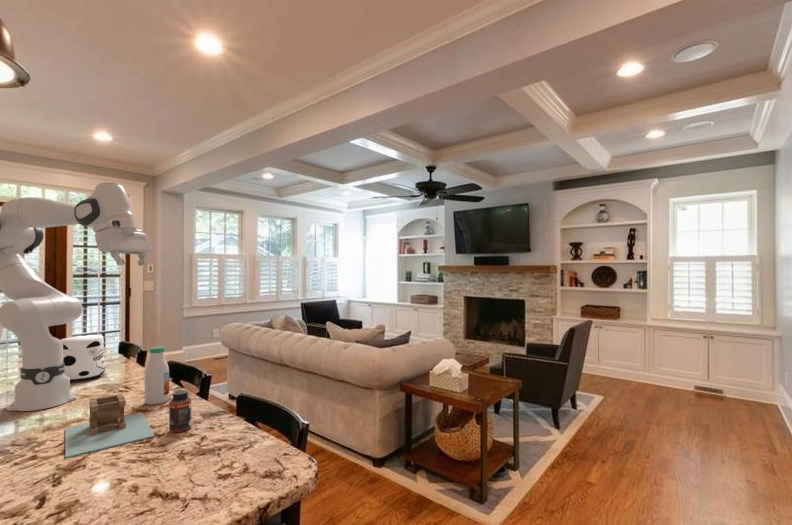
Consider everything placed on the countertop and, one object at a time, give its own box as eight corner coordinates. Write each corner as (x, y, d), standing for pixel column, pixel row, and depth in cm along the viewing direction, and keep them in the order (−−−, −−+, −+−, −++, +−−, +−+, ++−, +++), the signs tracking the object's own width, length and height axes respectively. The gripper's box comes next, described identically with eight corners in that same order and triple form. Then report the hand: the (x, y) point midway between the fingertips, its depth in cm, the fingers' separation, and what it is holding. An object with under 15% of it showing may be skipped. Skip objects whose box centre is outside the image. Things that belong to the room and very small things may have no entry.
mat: (65, 429, 121) (65, 428, 121) (142, 413, 134) (142, 412, 134) (65, 458, 103) (65, 456, 103) (154, 436, 116) (154, 435, 116)
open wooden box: (89, 426, 122) (89, 399, 122) (122, 419, 128) (122, 393, 128) (91, 435, 116) (91, 406, 116) (125, 427, 121) (125, 400, 121)
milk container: (113, 376, 180) (113, 336, 180) (65, 386, 165) (65, 343, 165) (96, 371, 189) (96, 333, 189) (50, 380, 174) (50, 339, 175)
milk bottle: (157, 406, 141) (157, 350, 141) (139, 404, 143) (139, 349, 143) (174, 399, 149) (174, 345, 149) (156, 397, 150) (156, 345, 150)
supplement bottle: (195, 426, 123) (195, 390, 123) (179, 434, 117) (179, 396, 117) (181, 424, 125) (181, 388, 125) (164, 431, 119) (164, 394, 119)
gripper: (136, 233, 148) (146, 268, 147) (87, 226, 128) (99, 267, 127) (151, 227, 147) (161, 263, 146) (104, 220, 127) (116, 261, 126)
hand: (132, 265), depth 136 cm, fingers open, 8 cm apart
